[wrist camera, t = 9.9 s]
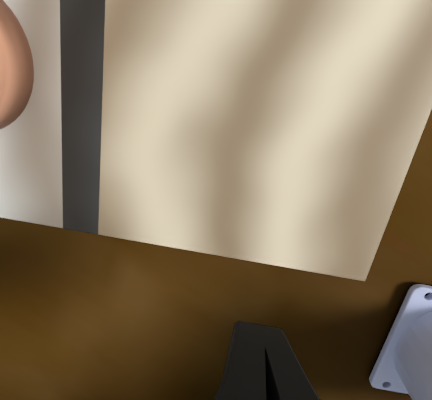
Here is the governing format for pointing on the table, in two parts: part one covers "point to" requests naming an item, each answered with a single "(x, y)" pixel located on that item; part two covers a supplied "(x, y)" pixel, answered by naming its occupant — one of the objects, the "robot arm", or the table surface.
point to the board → (222, 124)
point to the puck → (13, 67)
